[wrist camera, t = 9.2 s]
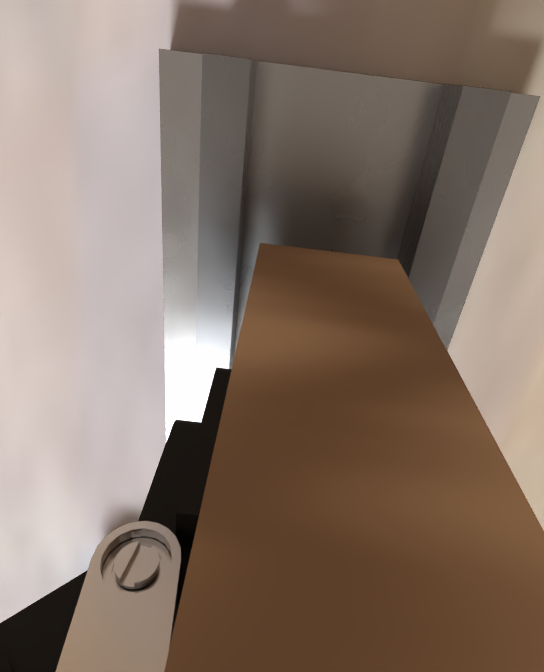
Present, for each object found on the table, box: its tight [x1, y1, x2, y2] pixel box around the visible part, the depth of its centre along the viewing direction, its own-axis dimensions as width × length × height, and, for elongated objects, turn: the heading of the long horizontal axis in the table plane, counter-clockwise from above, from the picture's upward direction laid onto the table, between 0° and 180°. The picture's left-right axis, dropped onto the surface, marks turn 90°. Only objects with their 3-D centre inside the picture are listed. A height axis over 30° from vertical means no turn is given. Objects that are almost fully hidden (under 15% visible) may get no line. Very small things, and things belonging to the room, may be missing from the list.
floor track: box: [159, 49, 540, 442], centre depth 14 cm, size 15×9×2 cm, turn 174°
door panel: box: [164, 243, 544, 672], centre depth 8 cm, size 3×8×8 cm, turn 174°
